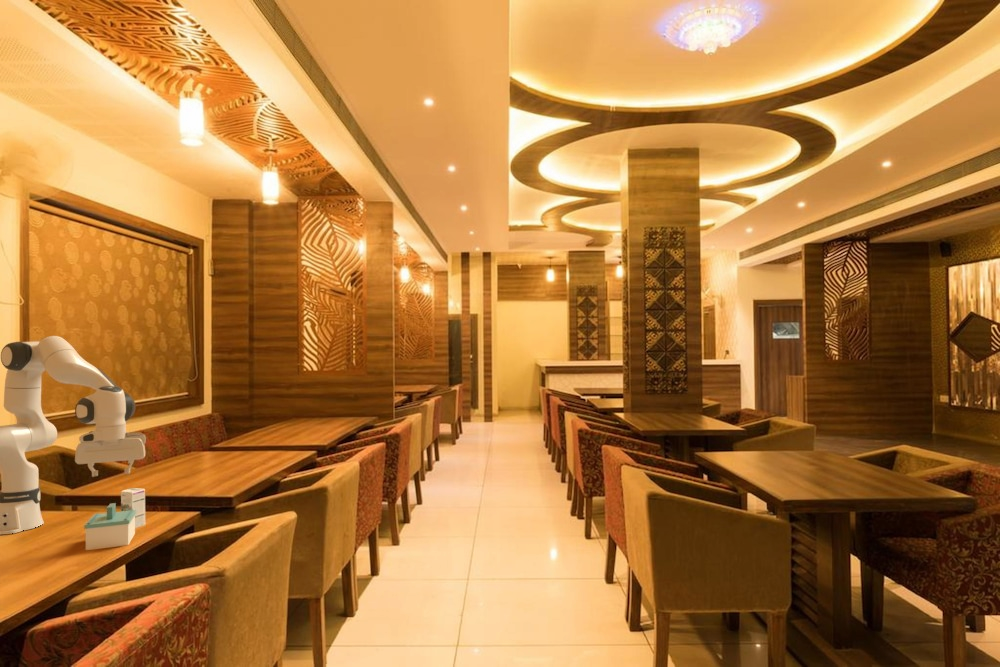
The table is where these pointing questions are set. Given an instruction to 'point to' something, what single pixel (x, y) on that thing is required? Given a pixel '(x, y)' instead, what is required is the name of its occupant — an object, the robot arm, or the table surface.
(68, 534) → the table surface
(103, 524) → the lid
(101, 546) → the tub
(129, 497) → the syrup box
